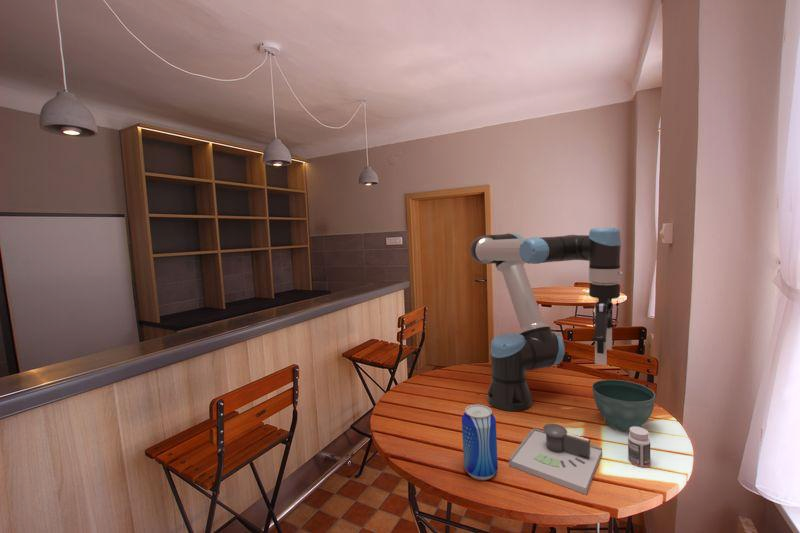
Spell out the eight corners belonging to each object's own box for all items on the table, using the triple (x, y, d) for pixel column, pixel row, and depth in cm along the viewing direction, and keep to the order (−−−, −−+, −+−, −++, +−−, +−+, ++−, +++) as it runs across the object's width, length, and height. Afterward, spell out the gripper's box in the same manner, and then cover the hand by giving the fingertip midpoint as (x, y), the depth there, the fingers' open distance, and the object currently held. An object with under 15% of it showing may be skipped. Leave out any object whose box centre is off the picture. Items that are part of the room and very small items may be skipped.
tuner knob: (540, 448, 95) (540, 430, 95) (547, 438, 100) (547, 421, 100) (587, 463, 88) (586, 444, 88) (592, 452, 93) (591, 433, 92)
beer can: (460, 462, 94) (457, 404, 93) (491, 459, 95) (489, 401, 94) (469, 484, 86) (466, 420, 85) (503, 480, 87) (500, 417, 85)
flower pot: (581, 421, 111) (580, 387, 110) (611, 406, 119) (611, 375, 118) (636, 445, 97) (636, 407, 96) (666, 427, 105) (666, 392, 104)
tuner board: (509, 465, 92) (508, 458, 92) (533, 433, 106) (533, 427, 106) (586, 494, 80) (585, 486, 80) (602, 454, 94) (601, 447, 94)
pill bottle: (647, 457, 92) (646, 426, 91) (653, 469, 88) (653, 436, 87) (625, 454, 94) (625, 424, 93) (631, 466, 89) (630, 434, 89)
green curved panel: (532, 459, 91) (532, 459, 91) (543, 443, 98) (543, 442, 98) (581, 476, 84) (581, 475, 84) (589, 457, 91) (589, 456, 91)
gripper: (615, 291, 88) (614, 374, 90) (623, 277, 108) (622, 345, 110) (581, 289, 92) (581, 368, 94) (595, 276, 112) (595, 342, 114)
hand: (603, 356), depth 102 cm, fingers open, 13 cm apart
